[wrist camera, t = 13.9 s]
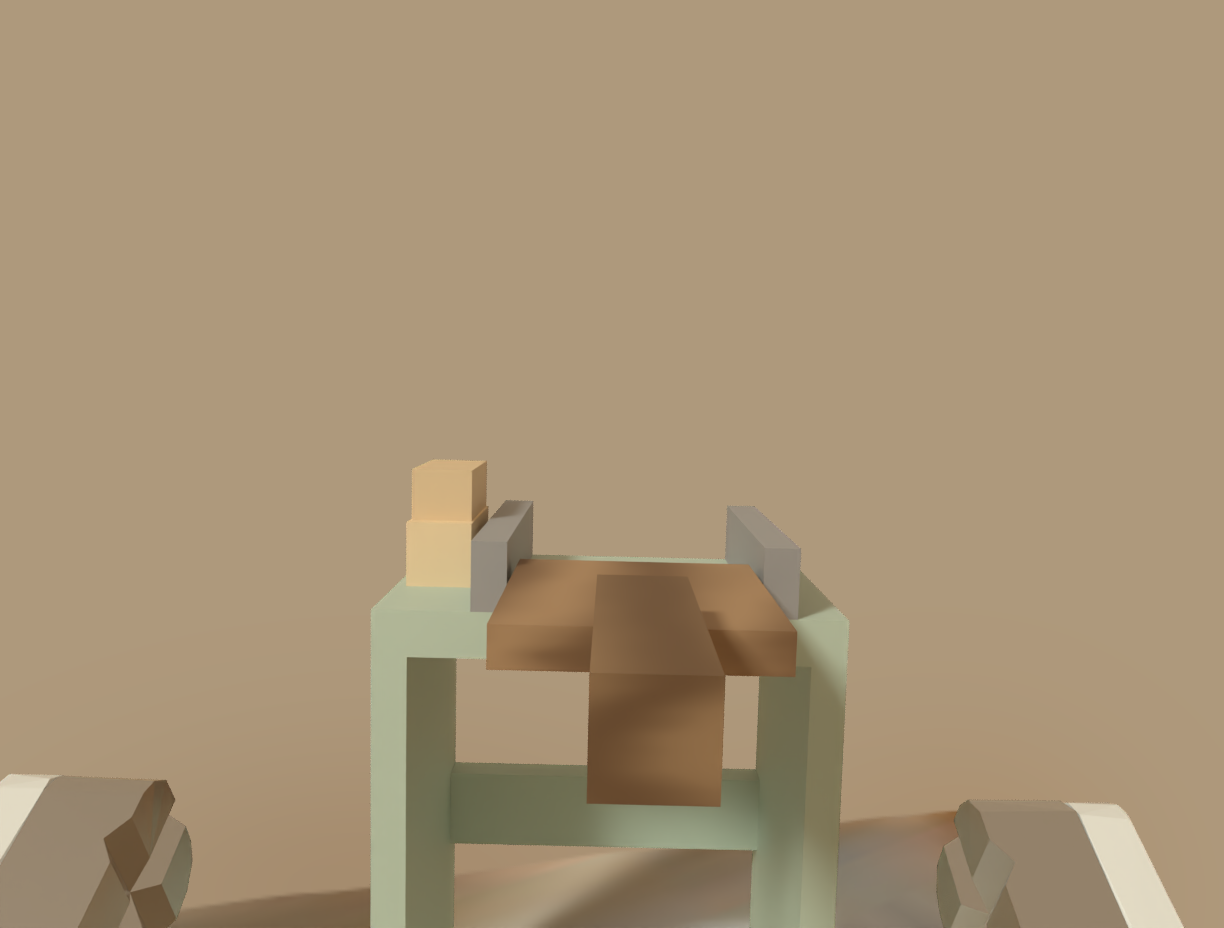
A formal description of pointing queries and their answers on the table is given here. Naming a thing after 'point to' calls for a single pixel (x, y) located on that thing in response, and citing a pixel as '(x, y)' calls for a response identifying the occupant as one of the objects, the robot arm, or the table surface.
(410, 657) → the stand
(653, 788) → the board with handle
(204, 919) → the table surface
